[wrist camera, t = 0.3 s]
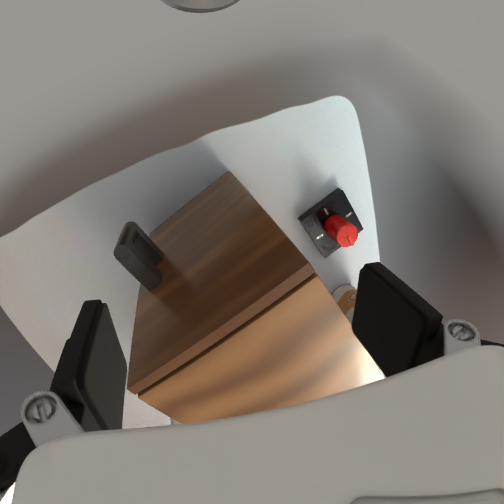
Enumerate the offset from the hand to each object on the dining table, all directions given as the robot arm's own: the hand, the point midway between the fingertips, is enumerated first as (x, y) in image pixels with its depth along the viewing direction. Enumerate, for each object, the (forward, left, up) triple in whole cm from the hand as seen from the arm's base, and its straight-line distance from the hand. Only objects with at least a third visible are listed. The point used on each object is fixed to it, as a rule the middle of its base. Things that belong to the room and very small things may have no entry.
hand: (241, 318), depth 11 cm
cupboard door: (+4, -5, -45) cm, 45 cm away
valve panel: (+26, +14, -45) cm, 54 cm away
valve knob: (+26, +14, -43) cm, 52 cm away
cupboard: (+16, -5, -45) cm, 48 cm away
